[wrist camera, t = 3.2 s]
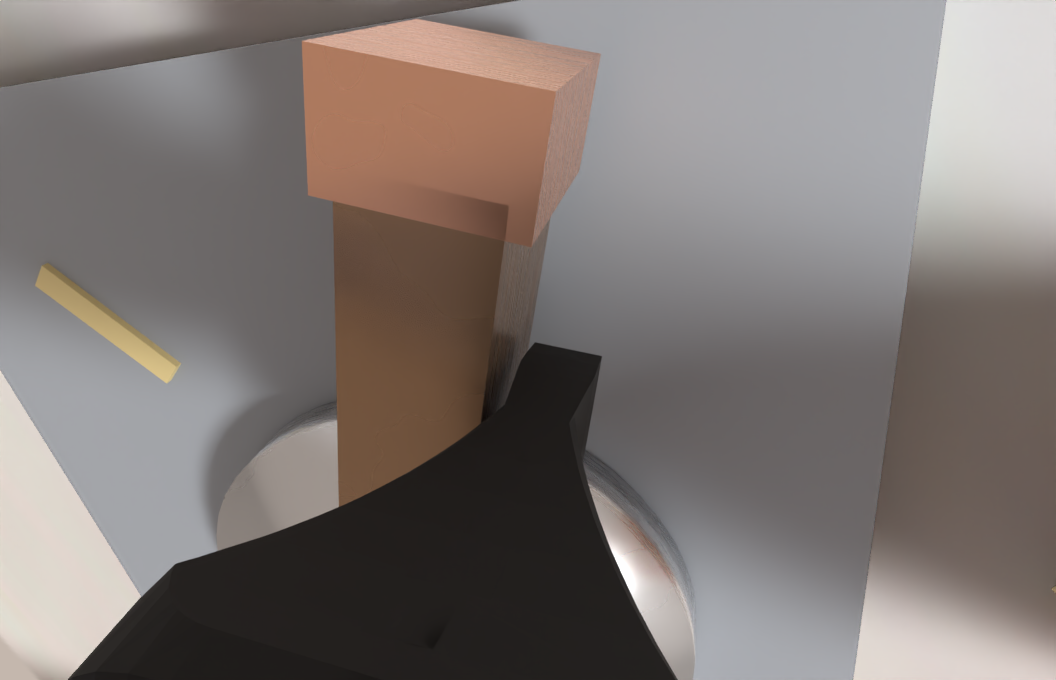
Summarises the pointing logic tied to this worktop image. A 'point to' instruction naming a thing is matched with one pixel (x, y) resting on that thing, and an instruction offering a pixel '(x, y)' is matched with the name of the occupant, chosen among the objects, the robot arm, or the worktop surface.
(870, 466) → the board
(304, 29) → the worktop surface
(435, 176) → the pizza cutter
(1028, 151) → the worktop surface
